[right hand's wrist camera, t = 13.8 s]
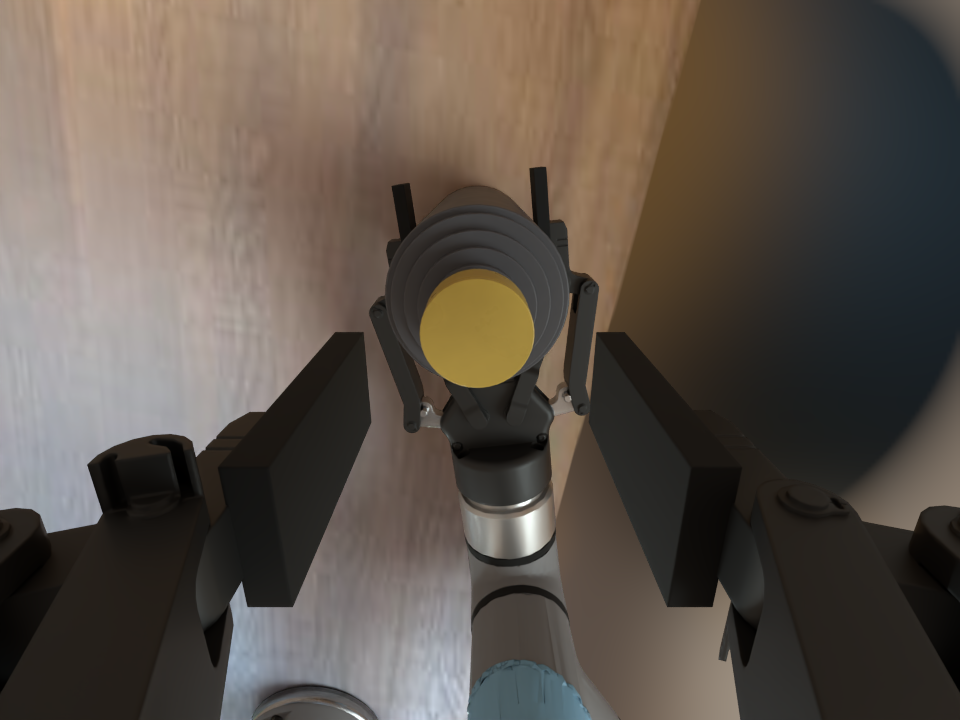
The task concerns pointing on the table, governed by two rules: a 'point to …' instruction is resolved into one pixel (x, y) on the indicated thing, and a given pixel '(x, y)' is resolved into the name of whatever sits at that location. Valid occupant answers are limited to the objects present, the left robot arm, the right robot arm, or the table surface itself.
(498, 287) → the cap
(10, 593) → the right robot arm
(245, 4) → the table surface
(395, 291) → the bottle
